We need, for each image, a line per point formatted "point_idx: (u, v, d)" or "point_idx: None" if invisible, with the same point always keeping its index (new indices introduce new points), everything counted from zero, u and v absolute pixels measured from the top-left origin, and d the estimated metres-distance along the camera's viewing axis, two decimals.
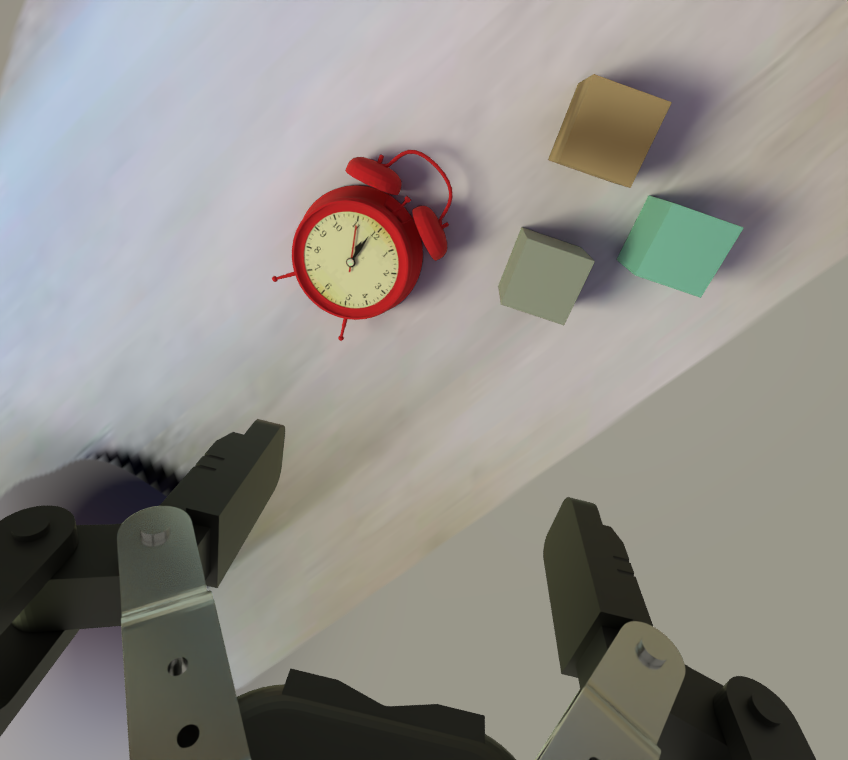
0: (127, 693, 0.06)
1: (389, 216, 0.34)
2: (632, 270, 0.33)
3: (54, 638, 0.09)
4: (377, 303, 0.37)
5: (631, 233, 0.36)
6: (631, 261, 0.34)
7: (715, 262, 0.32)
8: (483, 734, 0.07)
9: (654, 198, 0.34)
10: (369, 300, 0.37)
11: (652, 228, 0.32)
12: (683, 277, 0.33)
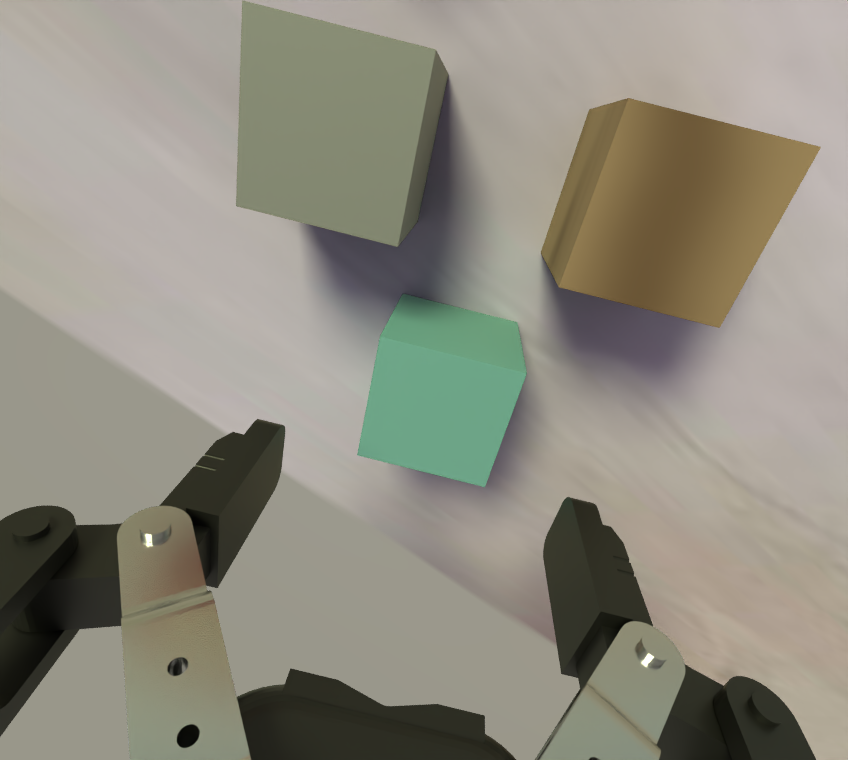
0: (127, 693, 0.06)
1: None
2: (389, 329, 0.16)
3: (54, 638, 0.09)
4: None
5: (452, 309, 0.19)
6: (405, 321, 0.17)
7: (421, 462, 0.18)
8: (483, 734, 0.07)
9: (518, 334, 0.19)
10: None
11: (473, 345, 0.17)
12: (388, 420, 0.17)
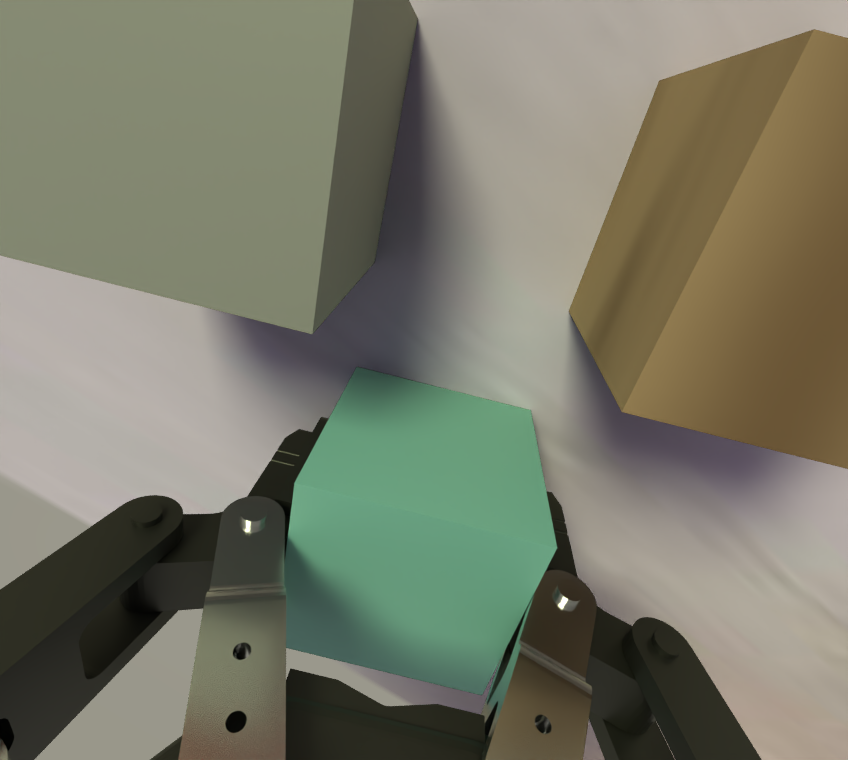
0: (195, 663, 0.06)
1: None
2: (316, 460, 0.09)
3: (148, 622, 0.09)
4: None
5: (431, 395, 0.13)
6: (348, 434, 0.10)
7: (379, 659, 0.11)
8: (483, 734, 0.07)
9: (534, 440, 0.12)
10: None
11: (462, 482, 0.10)
12: (320, 603, 0.10)
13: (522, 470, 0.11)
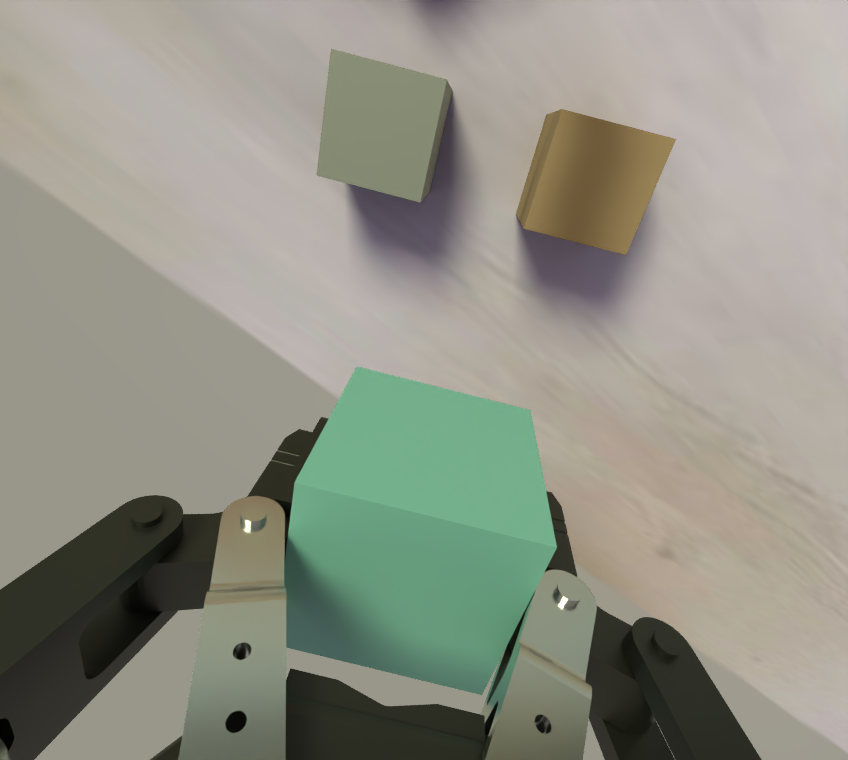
0: (195, 663, 0.06)
1: None
2: (316, 459, 0.09)
3: (148, 621, 0.09)
4: None
5: (431, 394, 0.13)
6: (348, 433, 0.10)
7: (379, 659, 0.11)
8: (483, 734, 0.07)
9: (533, 440, 0.12)
10: None
11: (462, 482, 0.10)
12: (320, 603, 0.10)
13: (522, 470, 0.11)
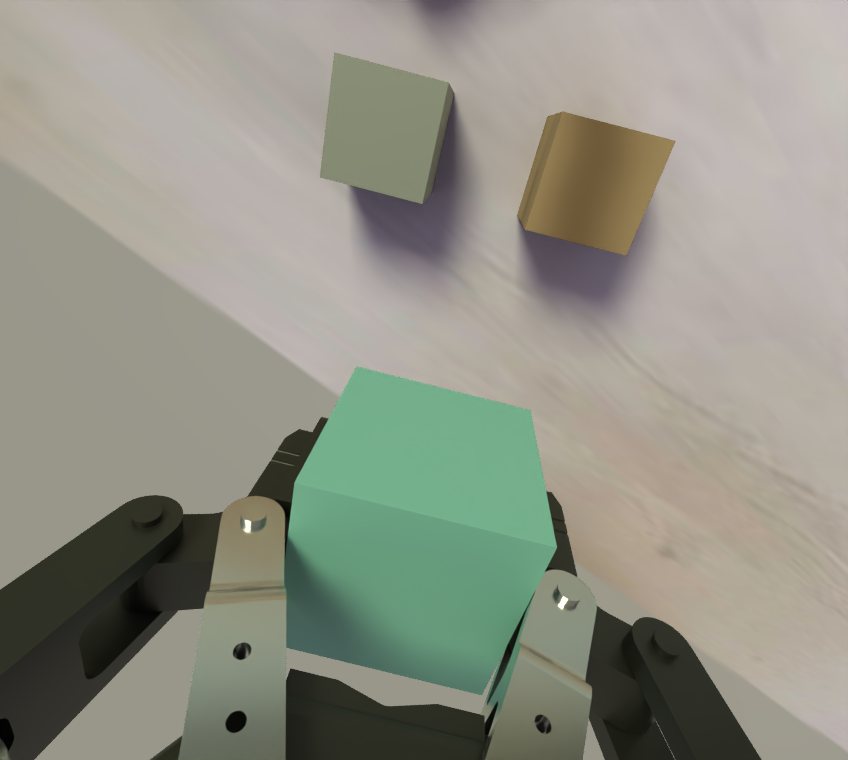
0: (196, 663, 0.06)
1: None
2: (316, 459, 0.09)
3: (148, 621, 0.09)
4: None
5: (431, 394, 0.13)
6: (349, 433, 0.10)
7: (379, 659, 0.11)
8: (483, 734, 0.07)
9: (534, 440, 0.12)
10: None
11: (462, 482, 0.10)
12: (320, 602, 0.10)
13: (522, 470, 0.11)
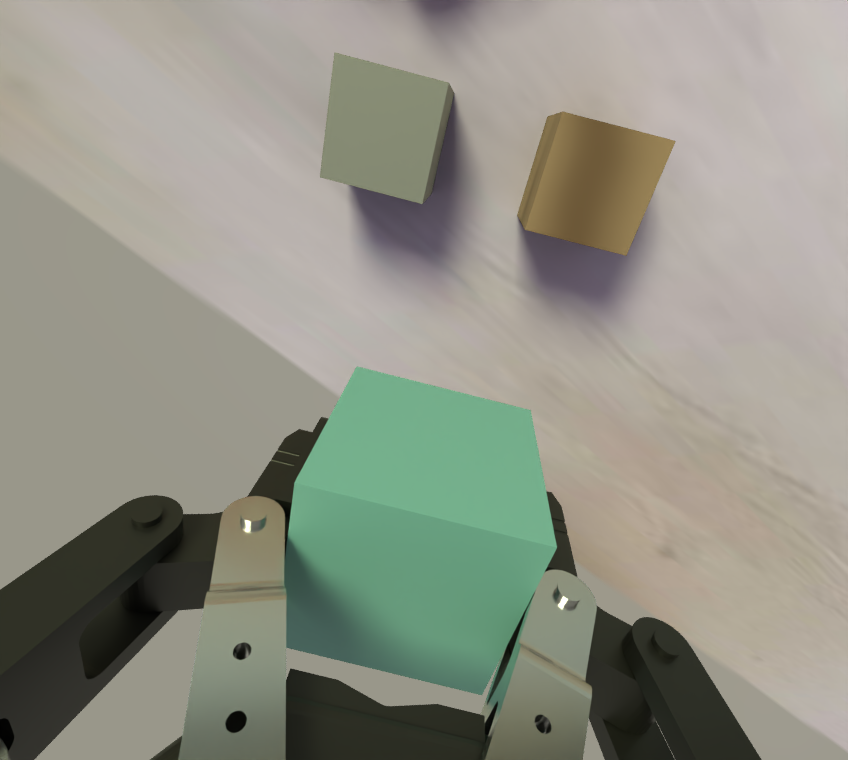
0: (196, 663, 0.06)
1: None
2: (316, 459, 0.09)
3: (148, 621, 0.09)
4: None
5: (431, 394, 0.13)
6: (349, 433, 0.10)
7: (379, 659, 0.11)
8: (483, 734, 0.07)
9: (534, 440, 0.12)
10: None
11: (462, 482, 0.10)
12: (320, 602, 0.10)
13: (522, 470, 0.11)
